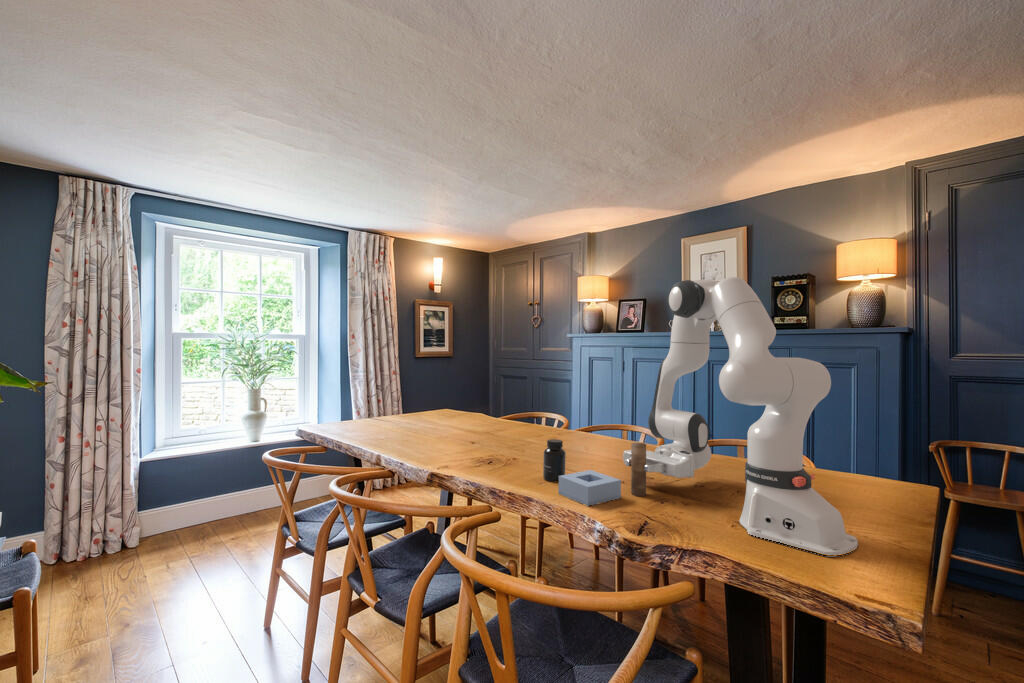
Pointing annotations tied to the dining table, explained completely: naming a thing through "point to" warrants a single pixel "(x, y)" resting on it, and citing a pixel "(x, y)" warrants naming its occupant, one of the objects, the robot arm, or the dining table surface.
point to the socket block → (589, 487)
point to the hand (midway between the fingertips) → (636, 465)
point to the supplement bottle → (554, 460)
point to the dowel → (638, 469)
